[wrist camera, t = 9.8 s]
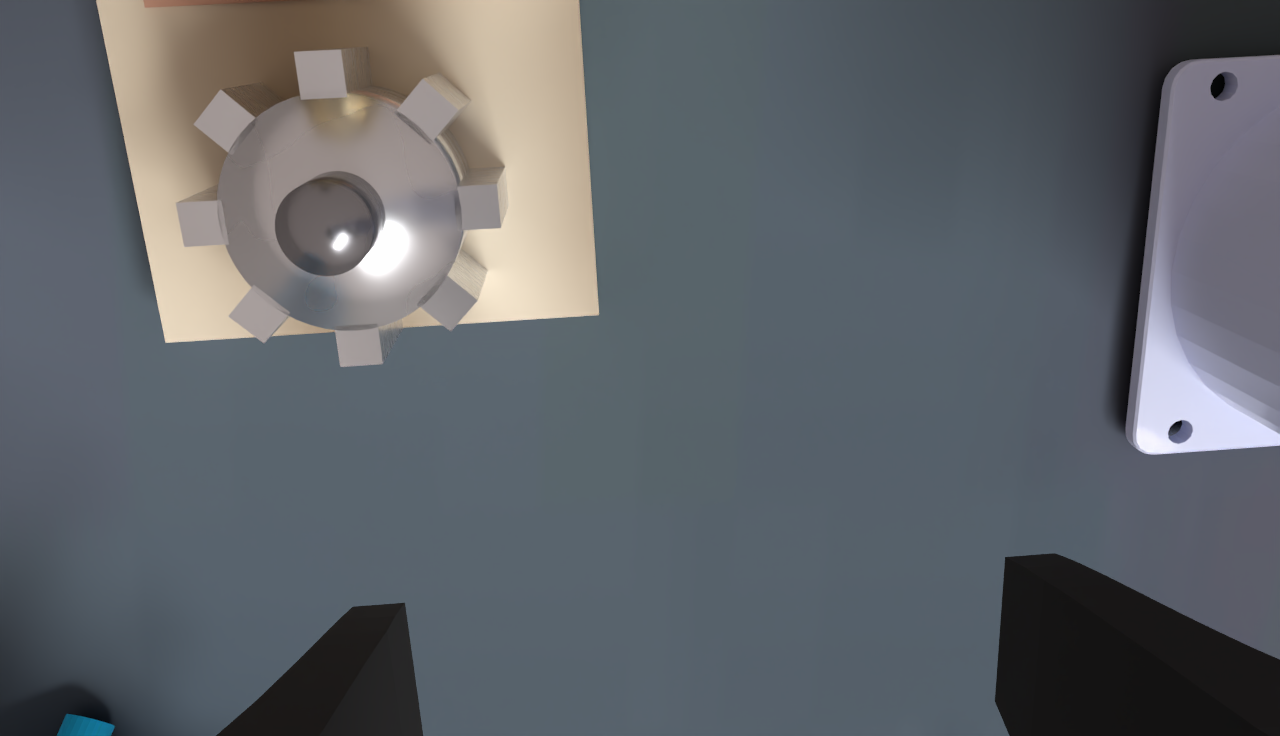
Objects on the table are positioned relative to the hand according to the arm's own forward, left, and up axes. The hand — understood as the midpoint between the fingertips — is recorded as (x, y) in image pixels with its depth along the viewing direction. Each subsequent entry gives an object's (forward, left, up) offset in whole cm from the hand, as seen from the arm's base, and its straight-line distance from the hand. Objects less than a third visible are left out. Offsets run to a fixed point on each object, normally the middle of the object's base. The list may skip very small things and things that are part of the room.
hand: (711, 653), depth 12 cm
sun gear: (+5, -4, -8) cm, 11 cm away
